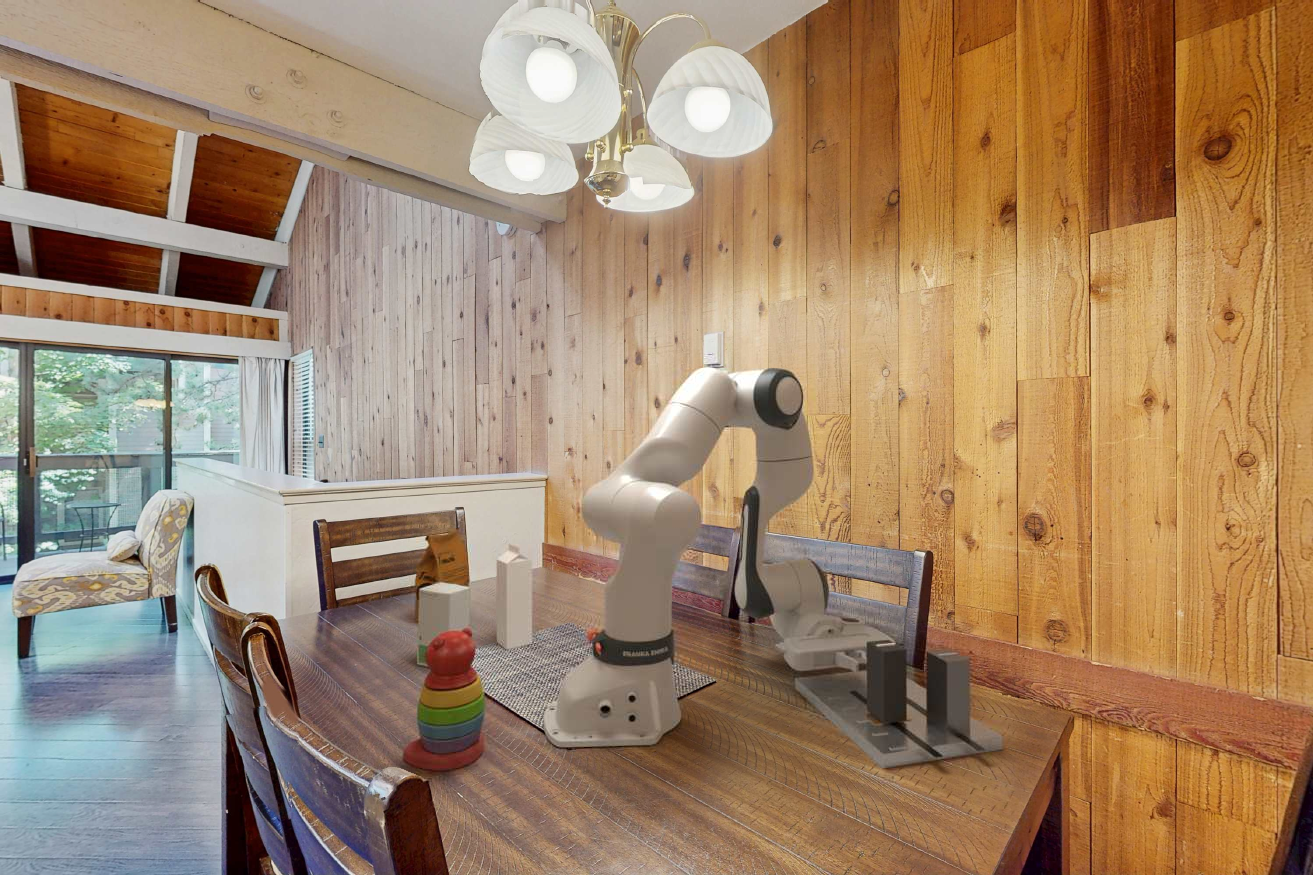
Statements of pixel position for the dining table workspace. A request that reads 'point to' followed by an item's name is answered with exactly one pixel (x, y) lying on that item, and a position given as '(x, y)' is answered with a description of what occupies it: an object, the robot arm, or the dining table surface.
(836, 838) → the dining table surface
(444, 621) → the skincare box
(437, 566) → the coffee package
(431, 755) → the stacking bear
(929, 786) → the dining table surface
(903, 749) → the console
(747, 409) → the robot arm
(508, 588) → the milk
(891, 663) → the fader knob
